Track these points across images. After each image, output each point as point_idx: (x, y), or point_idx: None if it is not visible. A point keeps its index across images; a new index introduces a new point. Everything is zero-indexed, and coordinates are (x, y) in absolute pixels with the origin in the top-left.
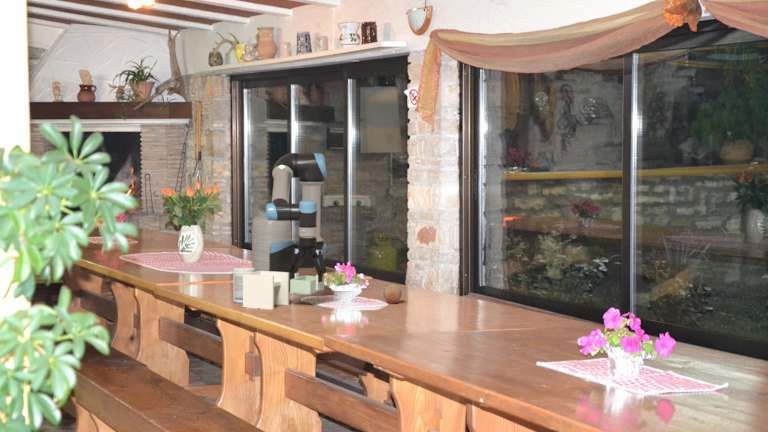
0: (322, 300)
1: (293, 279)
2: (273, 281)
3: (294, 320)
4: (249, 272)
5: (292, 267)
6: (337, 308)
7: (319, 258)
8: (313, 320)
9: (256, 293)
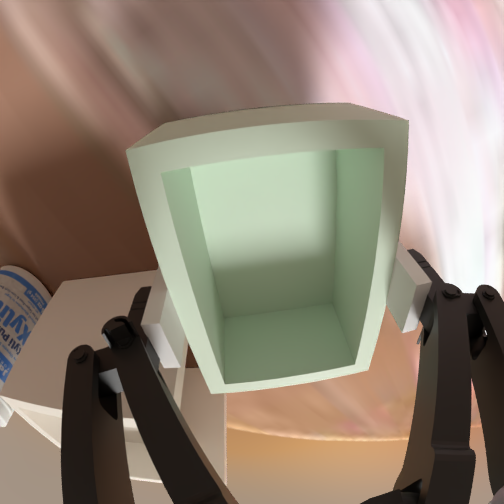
0: (254, 16)
1: (224, 383)
2: (225, 462)
3: (366, 417)
4: (9, 410)
5: (84, 379)
6: (439, 232)
7: (496, 457)
8: (404, 398)
9: None
